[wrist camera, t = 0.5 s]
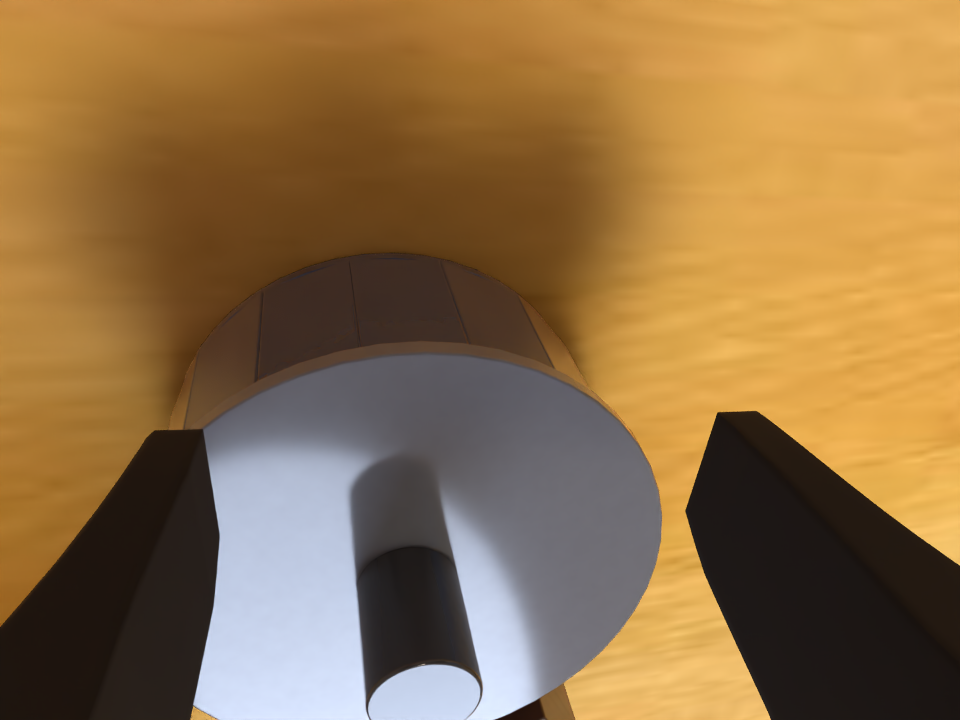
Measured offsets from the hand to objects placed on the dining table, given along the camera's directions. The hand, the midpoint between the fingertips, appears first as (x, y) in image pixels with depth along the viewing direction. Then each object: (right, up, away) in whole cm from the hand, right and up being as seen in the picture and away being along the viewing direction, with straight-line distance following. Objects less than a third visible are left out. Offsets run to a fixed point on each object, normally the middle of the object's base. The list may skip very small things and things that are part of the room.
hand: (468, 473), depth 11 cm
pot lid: (-2, -3, +8) cm, 9 cm away
